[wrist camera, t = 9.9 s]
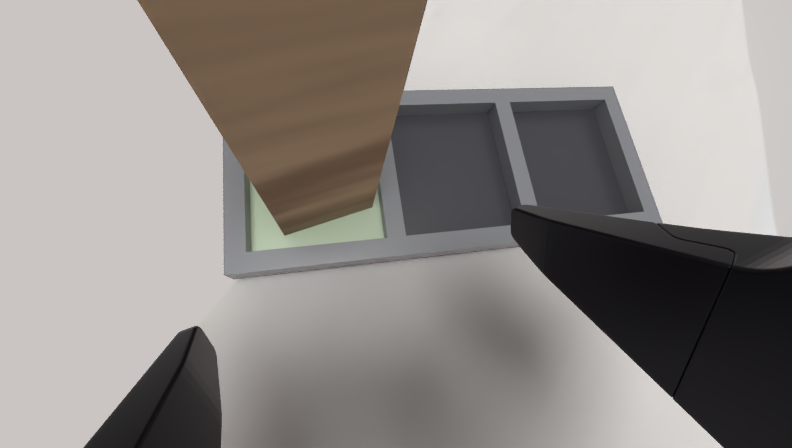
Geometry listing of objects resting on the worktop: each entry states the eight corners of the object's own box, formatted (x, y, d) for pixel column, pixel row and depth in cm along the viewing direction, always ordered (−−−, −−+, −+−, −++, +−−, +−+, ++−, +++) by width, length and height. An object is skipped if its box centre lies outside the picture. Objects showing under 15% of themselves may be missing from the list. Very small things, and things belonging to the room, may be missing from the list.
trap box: (597, 100, 25) (612, 86, 23) (642, 231, 22) (663, 225, 21) (231, 110, 20) (222, 94, 19) (233, 279, 17) (223, 275, 16)
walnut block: (372, 207, 19) (459, -122, 5) (284, 235, 18) (80, -92, 4) (342, 132, 20) (347, -311, 6) (258, 154, 19) (20, -335, 5)
